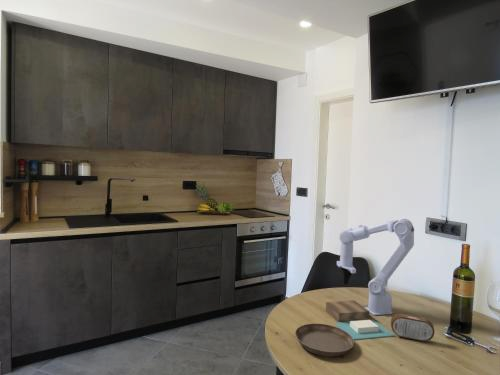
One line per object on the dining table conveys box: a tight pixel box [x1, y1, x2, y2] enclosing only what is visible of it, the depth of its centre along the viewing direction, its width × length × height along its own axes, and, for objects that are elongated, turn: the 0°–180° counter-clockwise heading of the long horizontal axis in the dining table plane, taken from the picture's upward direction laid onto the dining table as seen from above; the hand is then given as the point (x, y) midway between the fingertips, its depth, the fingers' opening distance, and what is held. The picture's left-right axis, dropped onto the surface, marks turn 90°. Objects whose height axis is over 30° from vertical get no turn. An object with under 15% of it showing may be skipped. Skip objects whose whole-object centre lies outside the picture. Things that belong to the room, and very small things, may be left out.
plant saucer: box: [294, 323, 355, 357], centre depth 121 cm, size 21×21×3 cm
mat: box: [334, 319, 396, 341], centre depth 134 cm, size 18×14×1 cm
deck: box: [325, 300, 370, 322], centre depth 146 cm, size 14×12×4 cm
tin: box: [390, 313, 435, 343], centre depth 127 cm, size 15×3×8 cm, turn 71°
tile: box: [350, 319, 379, 333], centre depth 133 cm, size 9×6×2 cm, turn 103°
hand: (345, 283), depth 160 cm, fingers closed
